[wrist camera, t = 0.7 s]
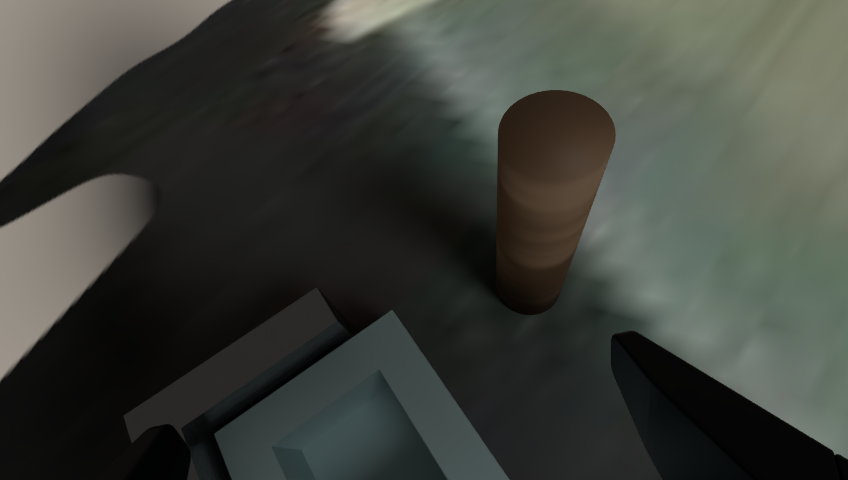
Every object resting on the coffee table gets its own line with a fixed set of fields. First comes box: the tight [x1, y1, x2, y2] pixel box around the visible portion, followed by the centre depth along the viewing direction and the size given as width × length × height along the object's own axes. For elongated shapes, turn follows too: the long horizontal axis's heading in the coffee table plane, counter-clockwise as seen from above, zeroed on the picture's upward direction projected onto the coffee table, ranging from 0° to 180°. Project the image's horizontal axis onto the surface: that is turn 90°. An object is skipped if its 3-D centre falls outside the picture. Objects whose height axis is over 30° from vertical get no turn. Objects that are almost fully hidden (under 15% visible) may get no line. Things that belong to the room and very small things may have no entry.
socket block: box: [214, 310, 509, 480], centre depth 21 cm, size 10×10×4 cm
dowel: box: [496, 90, 616, 315], centre depth 20 cm, size 4×4×13 cm
